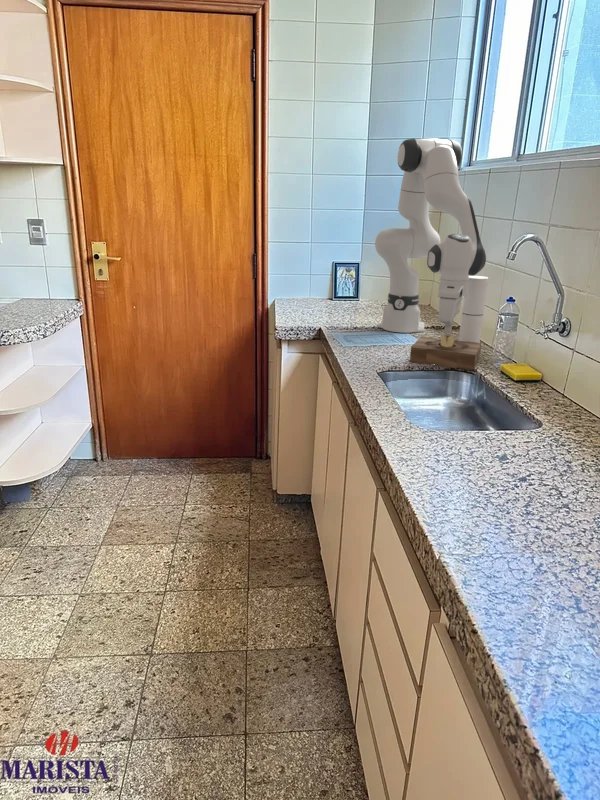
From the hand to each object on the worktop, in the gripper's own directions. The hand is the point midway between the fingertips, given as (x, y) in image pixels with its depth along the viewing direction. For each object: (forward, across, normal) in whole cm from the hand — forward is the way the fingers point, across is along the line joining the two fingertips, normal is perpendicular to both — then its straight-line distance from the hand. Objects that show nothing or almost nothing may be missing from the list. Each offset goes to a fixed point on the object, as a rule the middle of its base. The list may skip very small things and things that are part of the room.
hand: (447, 331), depth 179 cm
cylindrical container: (+10, -19, +5) cm, 22 cm away
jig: (+10, 0, 0) cm, 10 cm away
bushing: (+9, 0, 0) cm, 9 cm away
